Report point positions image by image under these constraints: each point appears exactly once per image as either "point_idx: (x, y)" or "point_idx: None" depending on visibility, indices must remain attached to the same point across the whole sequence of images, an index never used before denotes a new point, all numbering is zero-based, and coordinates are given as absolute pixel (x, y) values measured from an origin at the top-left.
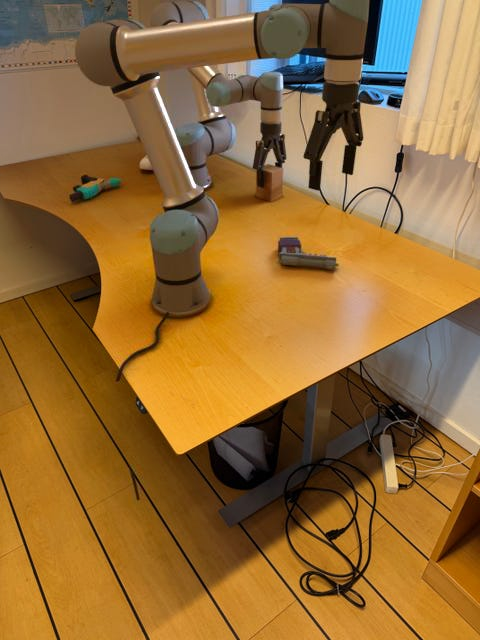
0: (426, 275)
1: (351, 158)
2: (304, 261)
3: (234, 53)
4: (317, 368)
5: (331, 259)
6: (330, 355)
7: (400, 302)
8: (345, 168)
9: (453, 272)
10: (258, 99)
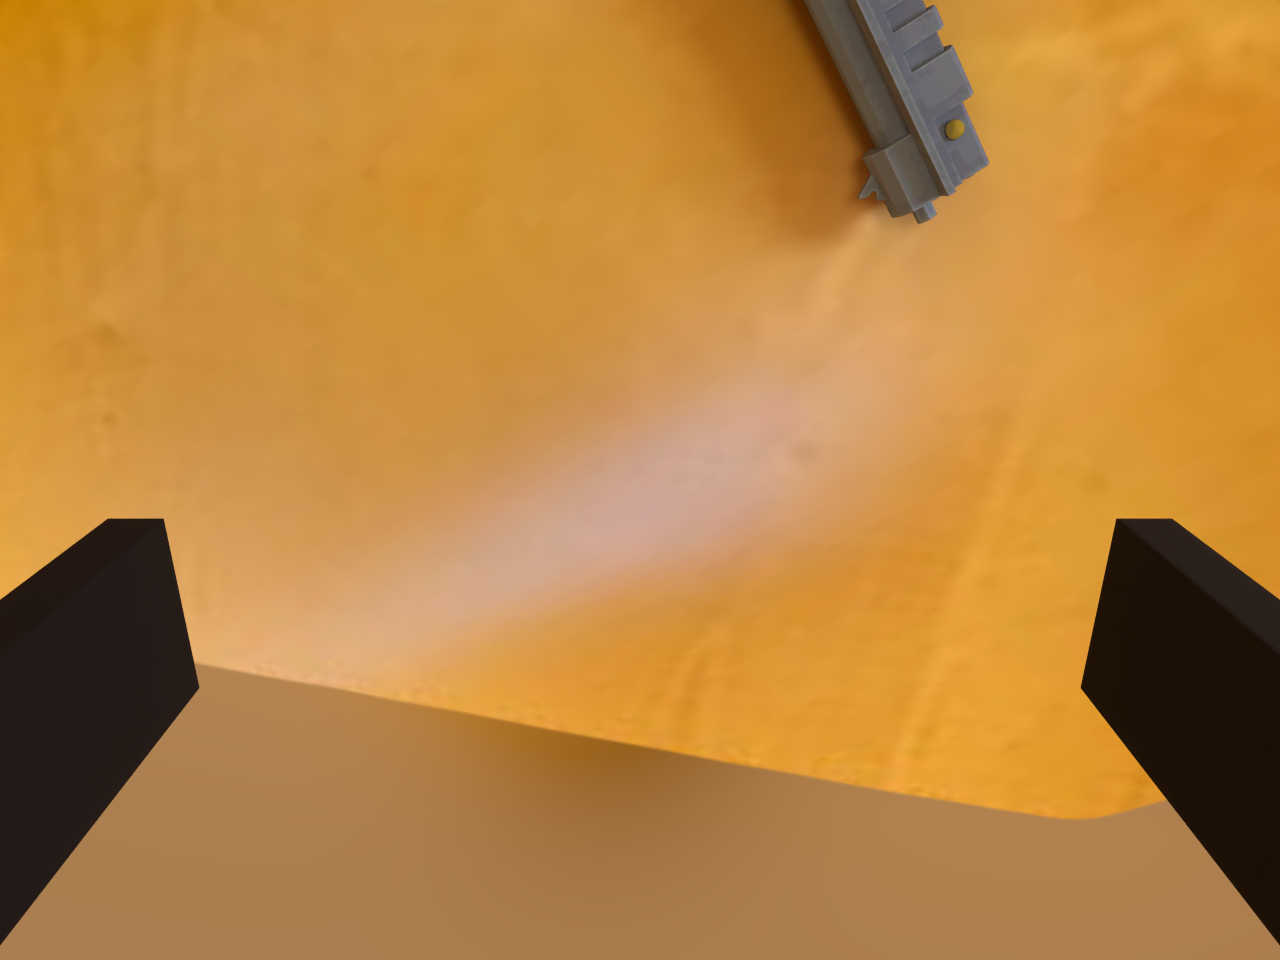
0: None
1: (1255, 865)
2: (811, 4)
3: None
4: None
5: (929, 166)
6: (246, 609)
7: (820, 630)
8: (1148, 624)
9: None
10: None
